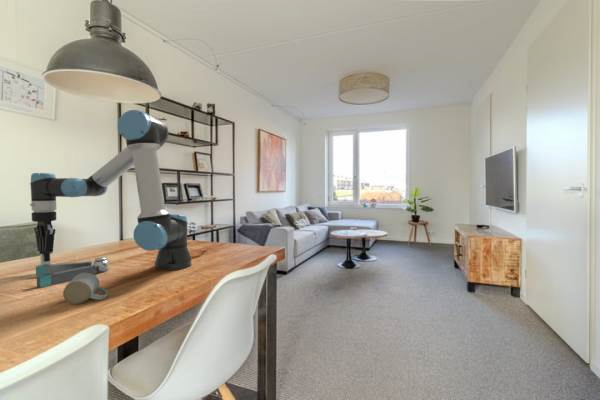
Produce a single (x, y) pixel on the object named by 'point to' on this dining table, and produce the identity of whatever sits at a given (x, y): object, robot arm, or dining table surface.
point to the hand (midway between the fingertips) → (45, 268)
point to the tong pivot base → (71, 274)
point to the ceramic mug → (83, 289)
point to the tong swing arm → (63, 266)
